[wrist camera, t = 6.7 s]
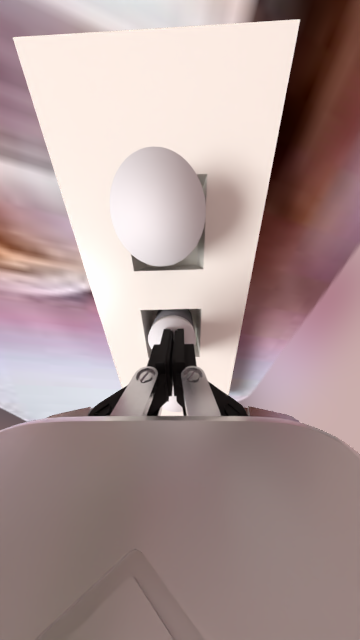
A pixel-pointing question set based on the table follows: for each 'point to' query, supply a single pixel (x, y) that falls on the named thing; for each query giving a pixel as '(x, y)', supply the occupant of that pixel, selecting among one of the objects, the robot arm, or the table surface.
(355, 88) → the table surface
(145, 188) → the knob
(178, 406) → the knob
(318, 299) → the table surface
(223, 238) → the console
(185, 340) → the knob mid
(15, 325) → the table surface
